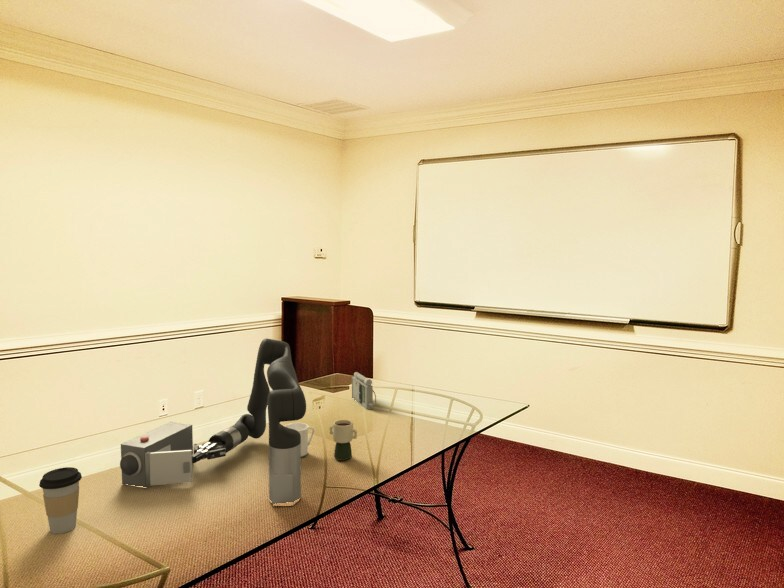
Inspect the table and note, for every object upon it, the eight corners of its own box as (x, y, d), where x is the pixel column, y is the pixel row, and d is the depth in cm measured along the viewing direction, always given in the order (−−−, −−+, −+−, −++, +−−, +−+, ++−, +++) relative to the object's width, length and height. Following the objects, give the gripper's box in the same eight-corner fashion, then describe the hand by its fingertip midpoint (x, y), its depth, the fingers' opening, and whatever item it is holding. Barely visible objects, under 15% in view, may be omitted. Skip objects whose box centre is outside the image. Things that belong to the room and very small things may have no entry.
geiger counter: (349, 370, 257) (368, 383, 235) (361, 369, 260) (381, 381, 238) (349, 398, 259) (368, 413, 236) (361, 396, 261) (381, 411, 239)
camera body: (171, 457, 184) (170, 419, 183) (194, 461, 181) (193, 422, 180) (116, 487, 161) (115, 443, 160) (141, 492, 158) (140, 447, 157)
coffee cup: (75, 515, 144) (73, 462, 143) (89, 527, 138) (87, 472, 137) (36, 529, 137) (33, 474, 136) (49, 542, 131) (46, 485, 130)
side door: (192, 480, 163) (191, 448, 162) (191, 484, 161) (190, 451, 160) (146, 484, 161) (145, 451, 160) (144, 487, 158) (143, 454, 157)
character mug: (361, 457, 187) (361, 421, 185) (351, 464, 180) (351, 428, 179) (334, 452, 191) (335, 417, 190) (324, 459, 185) (324, 423, 184)
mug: (284, 460, 183) (284, 432, 182) (282, 450, 192) (282, 423, 191) (315, 457, 186) (315, 429, 185) (312, 448, 194) (312, 421, 194)
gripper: (209, 428, 185) (174, 446, 168) (241, 433, 181) (209, 451, 164) (209, 449, 185) (175, 468, 169) (241, 454, 181) (209, 474, 165)
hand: (192, 460), depth 167 cm, fingers closed
